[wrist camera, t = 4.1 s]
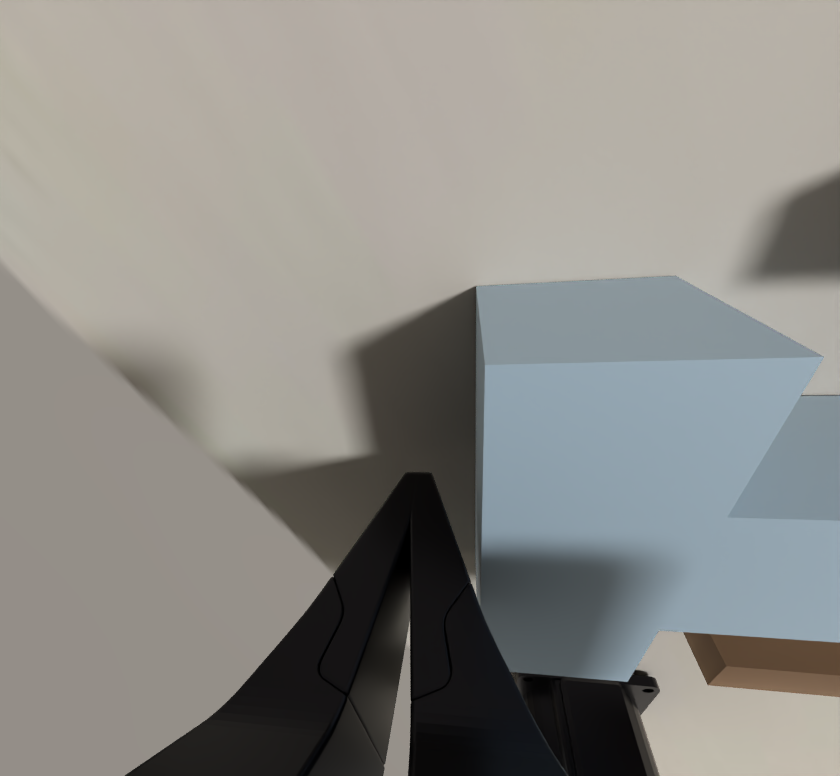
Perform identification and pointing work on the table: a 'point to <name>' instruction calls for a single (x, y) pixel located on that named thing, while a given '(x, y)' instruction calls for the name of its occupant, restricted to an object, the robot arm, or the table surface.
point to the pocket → (768, 663)
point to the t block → (647, 475)
